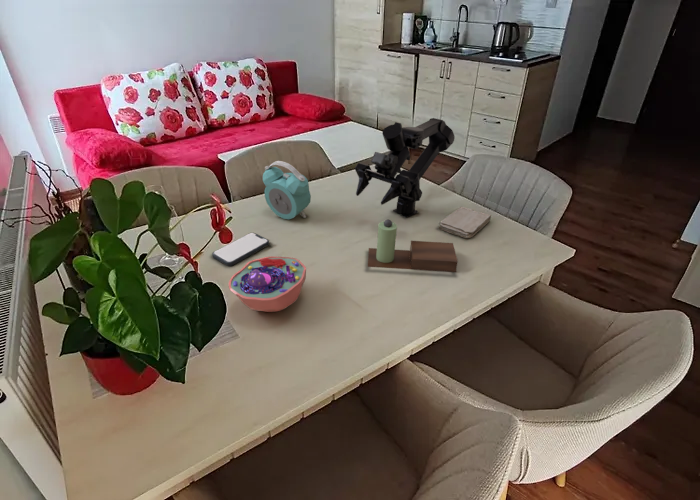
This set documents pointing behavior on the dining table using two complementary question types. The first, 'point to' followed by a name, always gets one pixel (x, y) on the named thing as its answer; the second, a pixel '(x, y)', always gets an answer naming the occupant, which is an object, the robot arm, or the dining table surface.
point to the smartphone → (240, 249)
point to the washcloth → (464, 222)
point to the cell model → (269, 283)
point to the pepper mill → (386, 241)
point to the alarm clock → (286, 191)
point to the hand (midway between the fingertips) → (368, 199)
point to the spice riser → (420, 257)
